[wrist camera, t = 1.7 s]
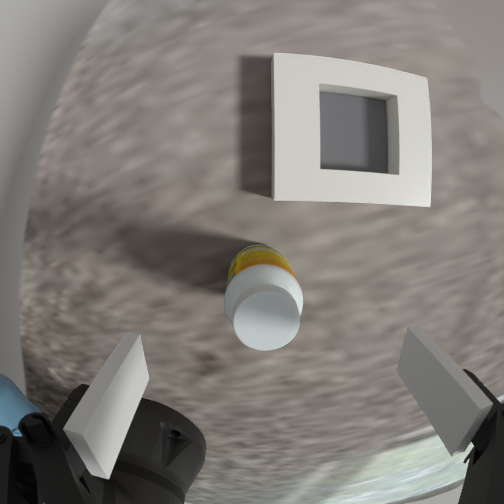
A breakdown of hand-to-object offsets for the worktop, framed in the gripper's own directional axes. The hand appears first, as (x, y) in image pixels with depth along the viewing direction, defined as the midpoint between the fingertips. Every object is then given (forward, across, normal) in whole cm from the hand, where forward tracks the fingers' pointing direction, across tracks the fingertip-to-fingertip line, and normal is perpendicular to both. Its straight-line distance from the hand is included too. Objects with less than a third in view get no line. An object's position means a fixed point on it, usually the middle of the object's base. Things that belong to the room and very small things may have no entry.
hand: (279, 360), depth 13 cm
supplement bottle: (+14, 0, 0) cm, 14 cm away
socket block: (+14, -8, -12) cm, 20 cm away
